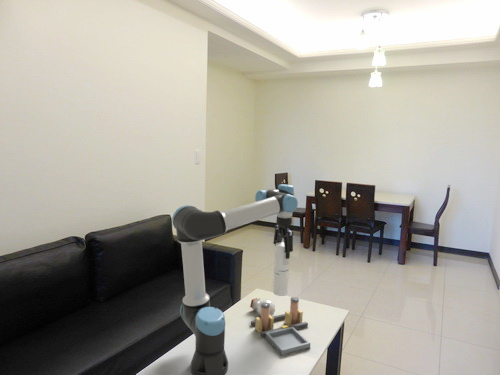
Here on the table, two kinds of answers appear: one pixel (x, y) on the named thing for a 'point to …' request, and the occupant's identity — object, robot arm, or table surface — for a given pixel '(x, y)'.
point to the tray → (287, 341)
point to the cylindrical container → (280, 271)
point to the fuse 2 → (294, 309)
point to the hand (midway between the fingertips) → (281, 261)
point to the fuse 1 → (265, 316)
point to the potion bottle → (257, 305)
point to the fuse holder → (286, 316)
